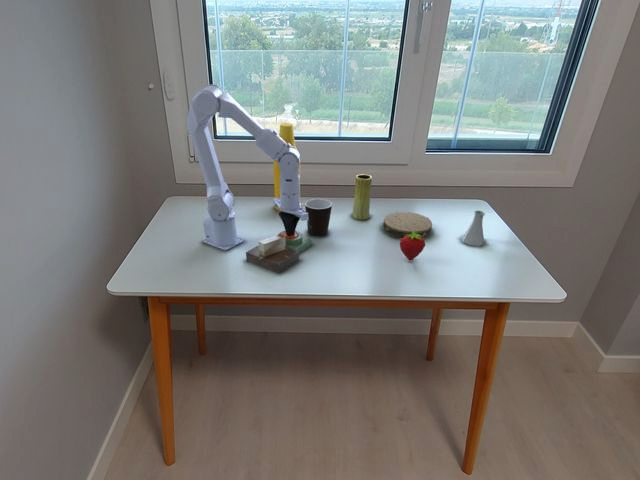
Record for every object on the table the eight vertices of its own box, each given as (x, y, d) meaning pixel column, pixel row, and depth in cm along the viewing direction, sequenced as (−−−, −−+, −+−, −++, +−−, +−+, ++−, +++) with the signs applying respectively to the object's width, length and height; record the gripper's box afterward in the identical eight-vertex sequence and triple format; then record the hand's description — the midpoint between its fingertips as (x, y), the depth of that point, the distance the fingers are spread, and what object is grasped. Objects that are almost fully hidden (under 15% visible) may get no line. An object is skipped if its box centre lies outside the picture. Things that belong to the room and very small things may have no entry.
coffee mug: (328, 239, 143) (329, 210, 137) (301, 236, 144) (302, 207, 139) (334, 225, 152) (335, 196, 147) (309, 222, 154) (310, 194, 148)
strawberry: (394, 255, 135) (399, 225, 130) (418, 254, 136) (424, 224, 131) (400, 265, 131) (405, 234, 125) (425, 264, 132) (430, 233, 126)
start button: (280, 240, 138) (280, 235, 137) (289, 235, 141) (289, 230, 140) (291, 244, 136) (291, 239, 135) (300, 239, 139) (300, 233, 138)
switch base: (243, 262, 129) (243, 252, 128) (269, 247, 138) (269, 238, 136) (276, 275, 124) (275, 265, 122) (301, 259, 132) (301, 249, 130)
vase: (372, 215, 160) (376, 176, 152) (364, 221, 156) (367, 181, 148) (357, 211, 163) (360, 172, 155) (348, 217, 158) (351, 177, 150)
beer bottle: (292, 214, 159) (292, 129, 142) (270, 209, 162) (266, 125, 145) (304, 206, 166) (305, 123, 149) (282, 201, 169) (281, 120, 152)
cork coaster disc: (373, 227, 152) (374, 219, 150) (404, 216, 160) (405, 208, 159) (409, 244, 142) (411, 236, 140) (440, 231, 151) (442, 223, 149)
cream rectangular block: (264, 257, 126) (263, 243, 124) (259, 253, 128) (258, 240, 125) (285, 249, 130) (285, 236, 128) (280, 246, 132) (280, 233, 129)
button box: (269, 245, 139) (269, 235, 137) (285, 236, 144) (285, 226, 142) (295, 254, 134) (295, 244, 132) (311, 245, 140) (311, 234, 138)
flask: (485, 239, 147) (493, 210, 141) (482, 248, 141) (490, 218, 135) (463, 234, 149) (469, 206, 143) (459, 243, 143) (465, 214, 138)
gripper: (316, 196, 127) (315, 239, 135) (285, 181, 136) (286, 223, 144) (297, 201, 123) (297, 245, 131) (266, 186, 132) (268, 229, 140)
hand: (290, 234), depth 137 cm, fingers closed, pressing on start button
